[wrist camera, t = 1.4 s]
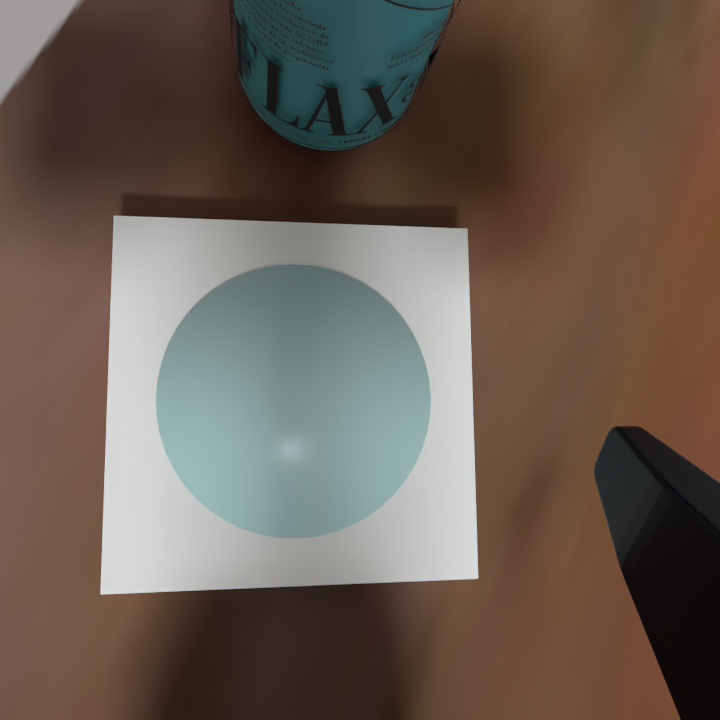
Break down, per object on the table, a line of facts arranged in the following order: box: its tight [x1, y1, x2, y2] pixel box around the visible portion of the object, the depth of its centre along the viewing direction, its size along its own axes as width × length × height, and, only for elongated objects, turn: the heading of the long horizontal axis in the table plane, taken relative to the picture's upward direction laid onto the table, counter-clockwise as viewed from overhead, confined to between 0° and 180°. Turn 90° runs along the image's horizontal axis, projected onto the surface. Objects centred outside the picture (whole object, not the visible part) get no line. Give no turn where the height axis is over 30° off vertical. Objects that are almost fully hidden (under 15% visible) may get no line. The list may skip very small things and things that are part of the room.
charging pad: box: [100, 216, 478, 594], centre depth 23 cm, size 12×12×1 cm
